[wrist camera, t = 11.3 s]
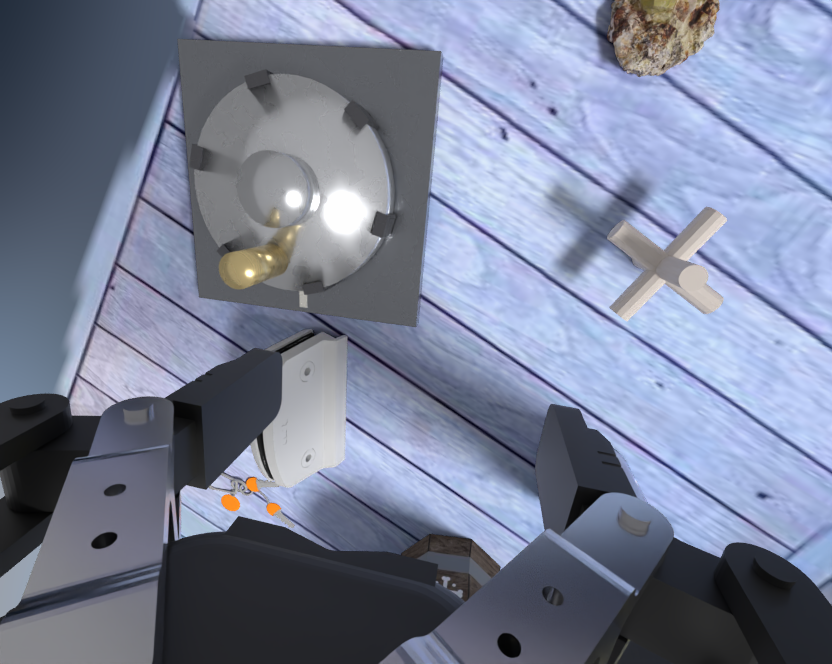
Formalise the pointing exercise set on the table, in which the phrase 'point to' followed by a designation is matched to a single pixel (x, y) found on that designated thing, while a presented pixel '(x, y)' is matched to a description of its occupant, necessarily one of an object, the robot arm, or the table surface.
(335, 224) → the silver disc
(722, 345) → the table surface
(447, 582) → the mug
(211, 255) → the base plate
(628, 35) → the mineral rock
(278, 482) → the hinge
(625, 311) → the pipe connector
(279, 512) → the key chain
